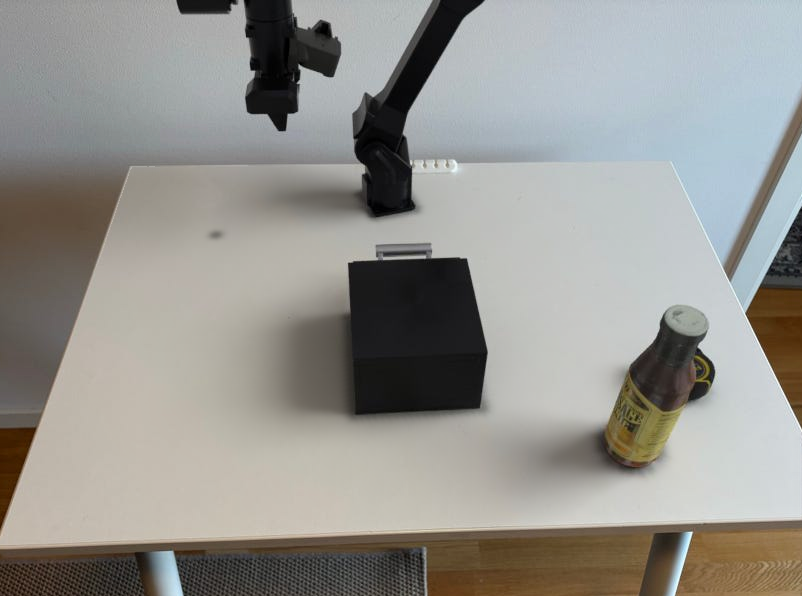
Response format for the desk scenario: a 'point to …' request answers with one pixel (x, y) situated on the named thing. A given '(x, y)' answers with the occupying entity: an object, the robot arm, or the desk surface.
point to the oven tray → (404, 251)
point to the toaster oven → (415, 336)
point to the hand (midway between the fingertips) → (282, 130)
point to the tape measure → (702, 375)
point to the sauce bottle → (656, 389)
